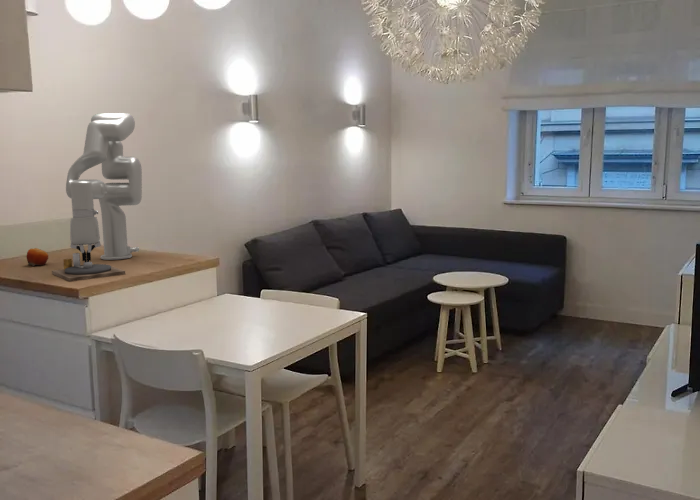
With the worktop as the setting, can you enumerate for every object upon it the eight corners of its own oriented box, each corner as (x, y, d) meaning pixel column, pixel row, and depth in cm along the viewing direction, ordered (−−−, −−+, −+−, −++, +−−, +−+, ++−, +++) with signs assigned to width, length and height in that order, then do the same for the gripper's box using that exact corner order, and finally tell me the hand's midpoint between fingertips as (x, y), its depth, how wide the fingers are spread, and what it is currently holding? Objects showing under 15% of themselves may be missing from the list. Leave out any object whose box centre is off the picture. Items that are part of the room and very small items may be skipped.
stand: (105, 267, 266) (104, 254, 265) (125, 274, 251) (124, 260, 250) (52, 273, 254) (50, 260, 253) (69, 281, 238) (68, 266, 237)
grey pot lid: (74, 267, 260) (73, 251, 259) (117, 266, 260) (116, 250, 259) (57, 274, 244) (56, 258, 243) (102, 274, 244) (101, 257, 243)
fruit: (18, 262, 271) (26, 244, 273) (34, 270, 277) (42, 252, 280) (29, 264, 267) (38, 245, 269) (46, 272, 273) (54, 253, 275)
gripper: (104, 212, 261) (107, 260, 263) (62, 214, 255) (65, 262, 258) (104, 214, 254) (108, 262, 256) (61, 215, 249) (65, 265, 251)
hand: (86, 262), depth 257 cm, fingers closed
